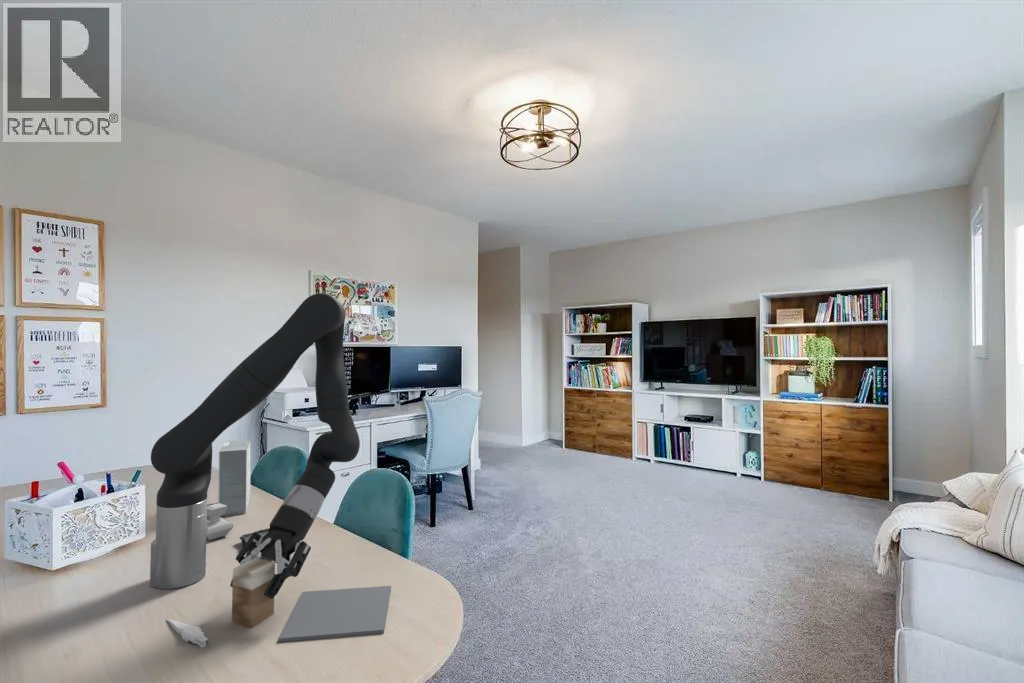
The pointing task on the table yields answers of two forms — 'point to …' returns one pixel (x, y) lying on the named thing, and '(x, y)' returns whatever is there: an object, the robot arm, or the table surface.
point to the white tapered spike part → (189, 632)
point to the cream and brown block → (252, 592)
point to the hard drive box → (234, 476)
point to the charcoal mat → (338, 613)
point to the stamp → (217, 522)
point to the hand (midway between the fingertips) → (250, 592)
